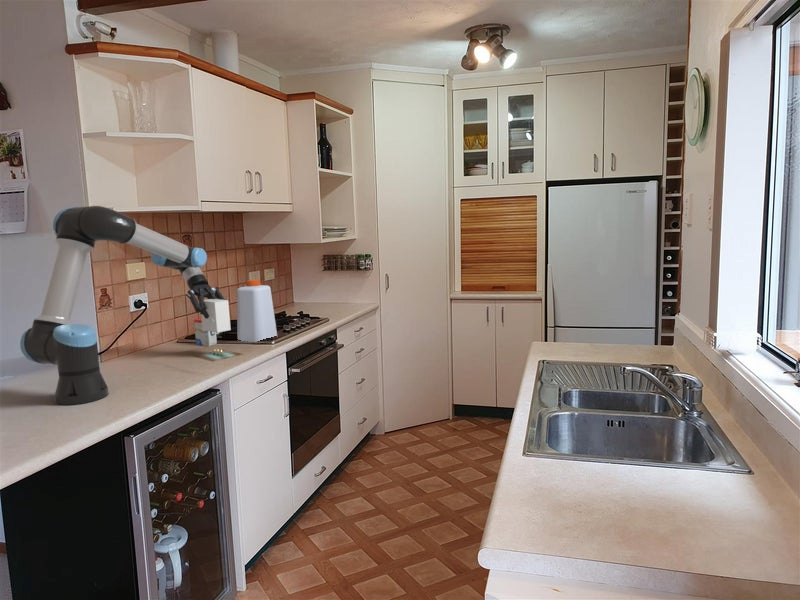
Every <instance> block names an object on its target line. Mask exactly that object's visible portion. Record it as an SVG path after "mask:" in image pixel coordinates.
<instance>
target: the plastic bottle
mask: <svg viewBox="0 0 800 600" xmlns="http://www.w3.org/2000/svg"><path fill="white" fill-rule="evenodd" d="M271 289H272V288H271V287H270V285H267V284H266V285H263V284H261V280H260V279H248V280H246V285H245V286H241V287H238V288H237V289H236V307H237V308H236V314H237V315H236V320H237V321H236V322H237V324H236V327H237V329H236V331H237V337H236V338H237V339H238V340H241V341H245V342H247V341H248V342H257V341H260V340H263V339H266V338H271V337H274V336H277V337H278V331H277V323H276V318H275V317H276V316H275V310H274V302H273V296H272V290H271ZM238 340H237V341H238Z"/></svg>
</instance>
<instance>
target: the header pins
mask: <svg viewBox="0 0 800 600" xmlns="http://www.w3.org/2000/svg"><path fill="white" fill-rule="evenodd" d="M219 350H220V356H223V353H222V349H219V348H216V347H213V348H212V352H213V355H215V354H216V353H217V355H219Z"/></svg>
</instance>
